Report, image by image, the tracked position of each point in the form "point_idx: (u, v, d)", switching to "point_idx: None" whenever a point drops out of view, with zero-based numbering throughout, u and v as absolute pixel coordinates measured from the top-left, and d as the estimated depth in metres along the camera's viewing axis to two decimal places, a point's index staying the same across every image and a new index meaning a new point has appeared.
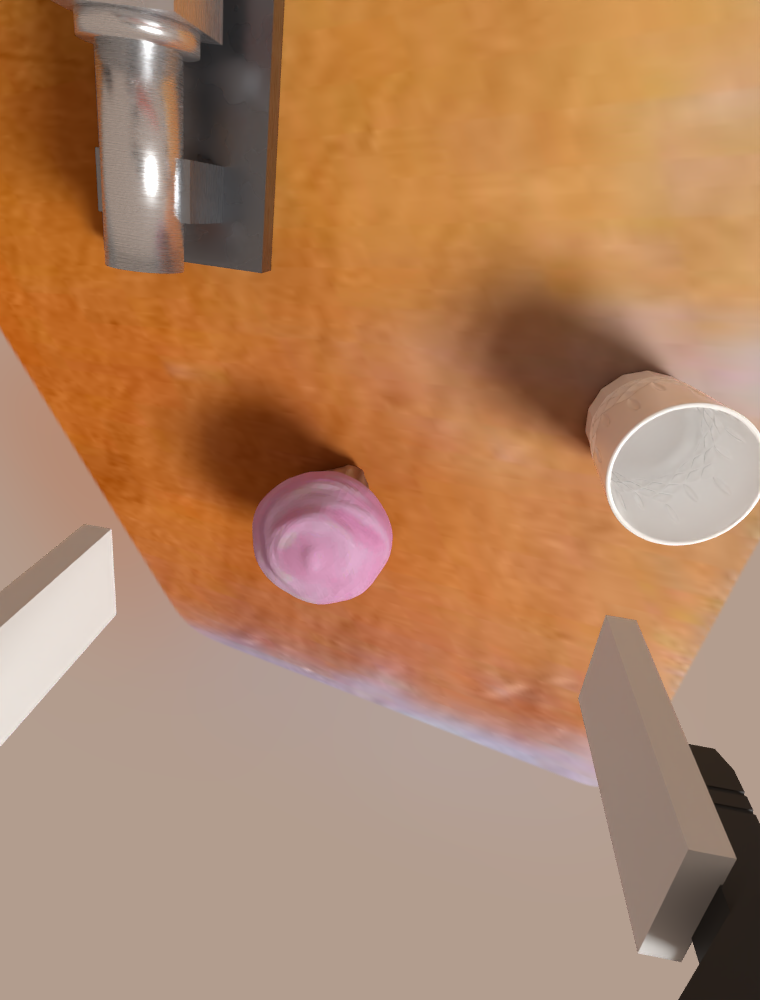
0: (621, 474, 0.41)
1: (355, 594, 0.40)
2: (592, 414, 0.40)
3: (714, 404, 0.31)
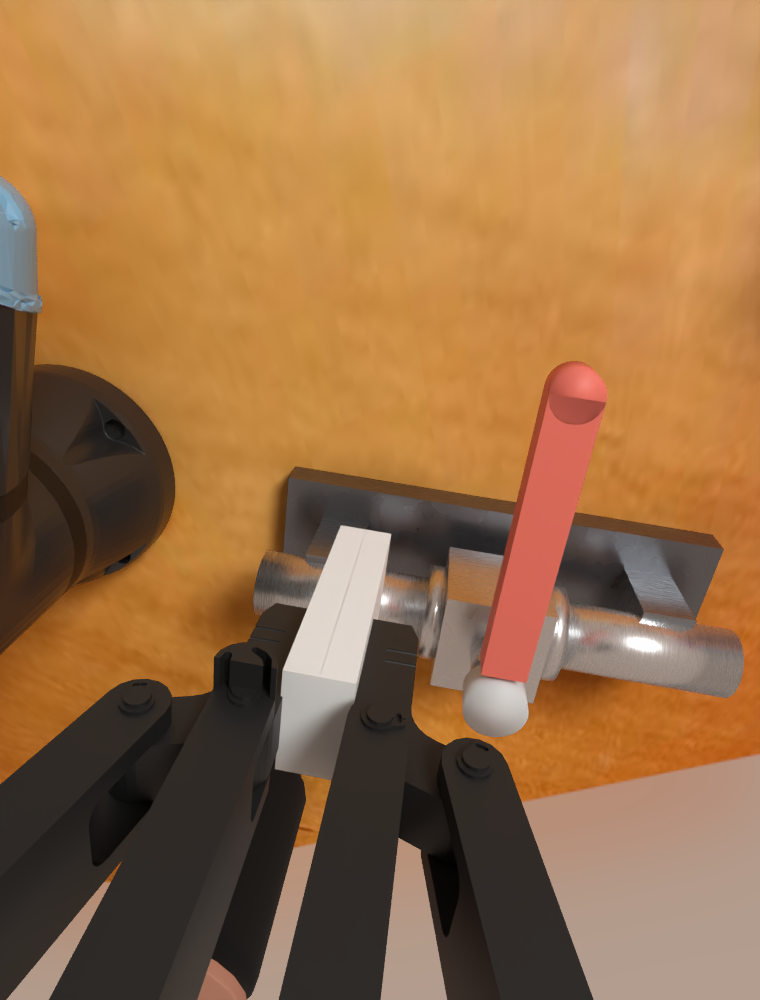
0: None
1: None
2: None
3: None
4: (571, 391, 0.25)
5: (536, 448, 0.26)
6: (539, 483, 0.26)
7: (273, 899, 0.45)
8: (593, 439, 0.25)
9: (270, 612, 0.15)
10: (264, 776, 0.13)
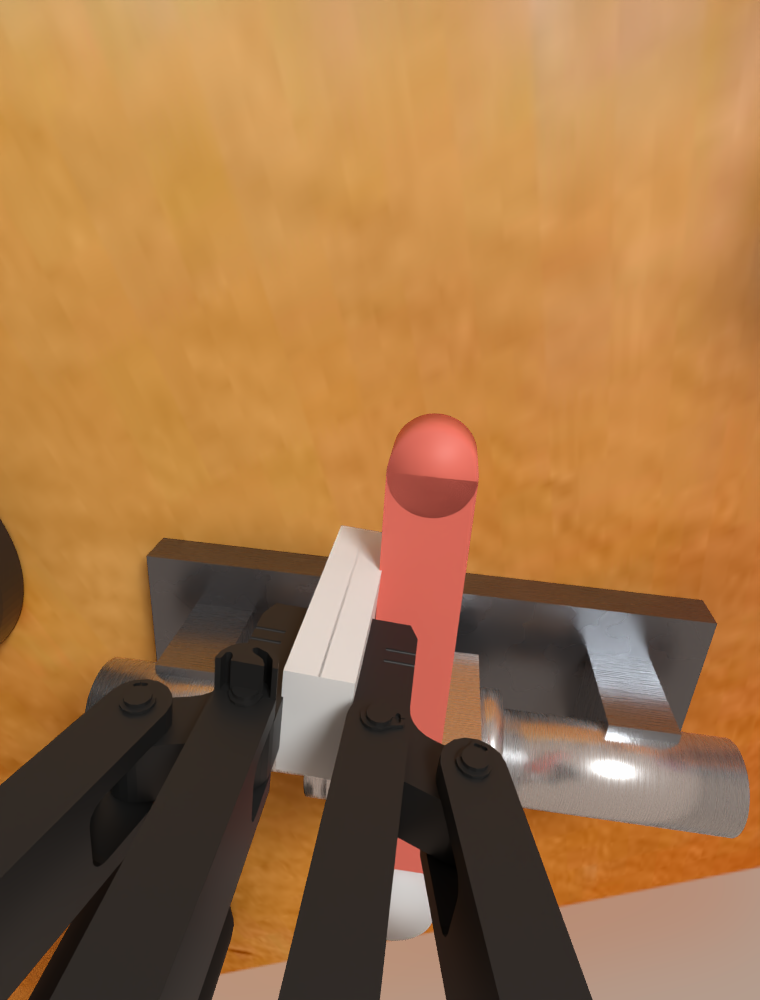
0: None
1: None
2: None
3: None
4: (420, 467, 0.15)
5: (381, 554, 0.16)
6: (394, 606, 0.17)
7: None
8: (467, 538, 0.16)
9: (270, 612, 0.15)
10: (265, 776, 0.13)
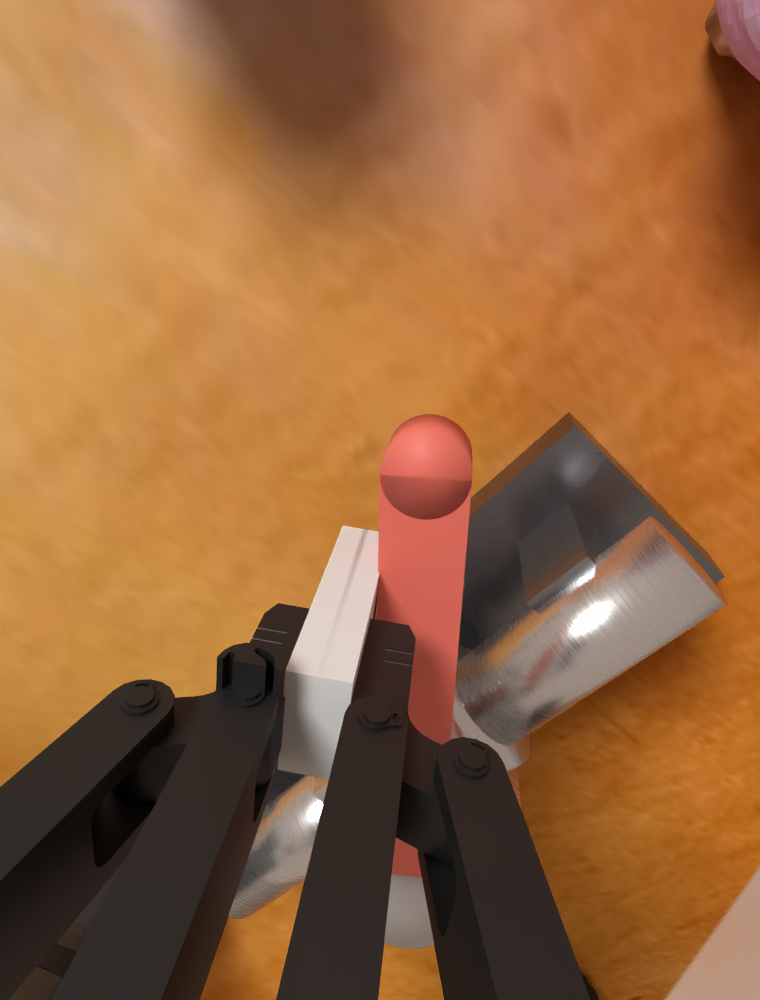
0: None
1: None
2: None
3: None
4: (413, 468, 0.15)
5: (379, 558, 0.16)
6: (395, 609, 0.17)
7: None
8: (464, 538, 0.16)
9: (272, 613, 0.15)
10: (267, 777, 0.13)
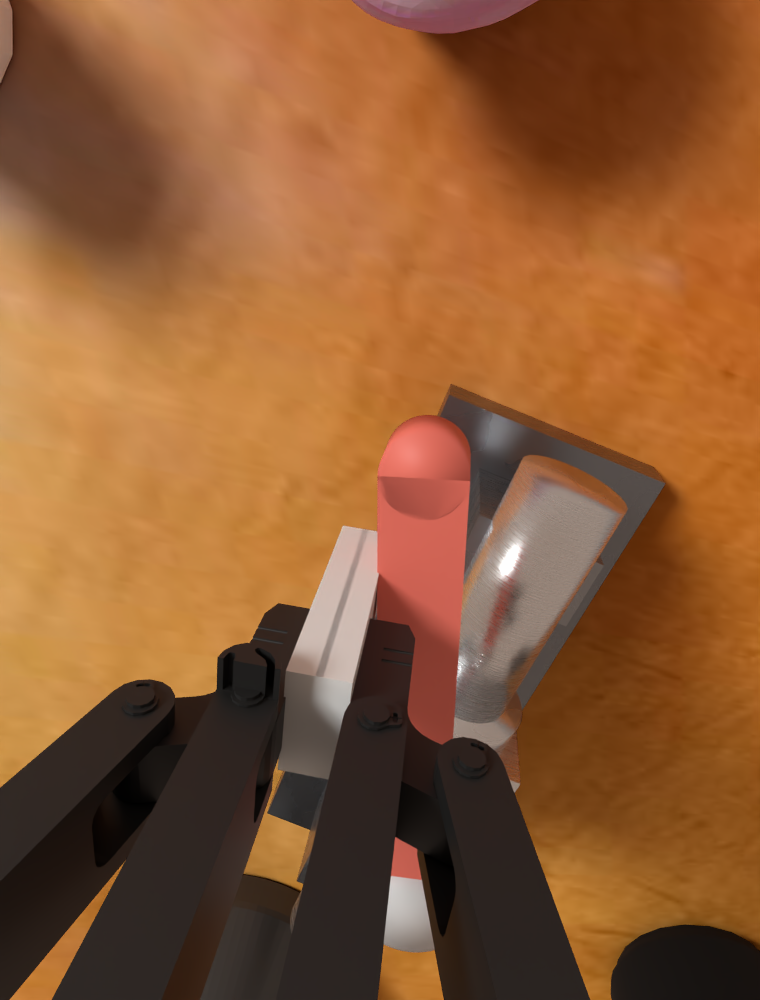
0: None
1: None
2: None
3: None
4: (411, 469, 0.15)
5: (378, 559, 0.16)
6: (395, 610, 0.17)
7: None
8: (463, 539, 0.16)
9: (272, 612, 0.15)
10: (268, 777, 0.13)
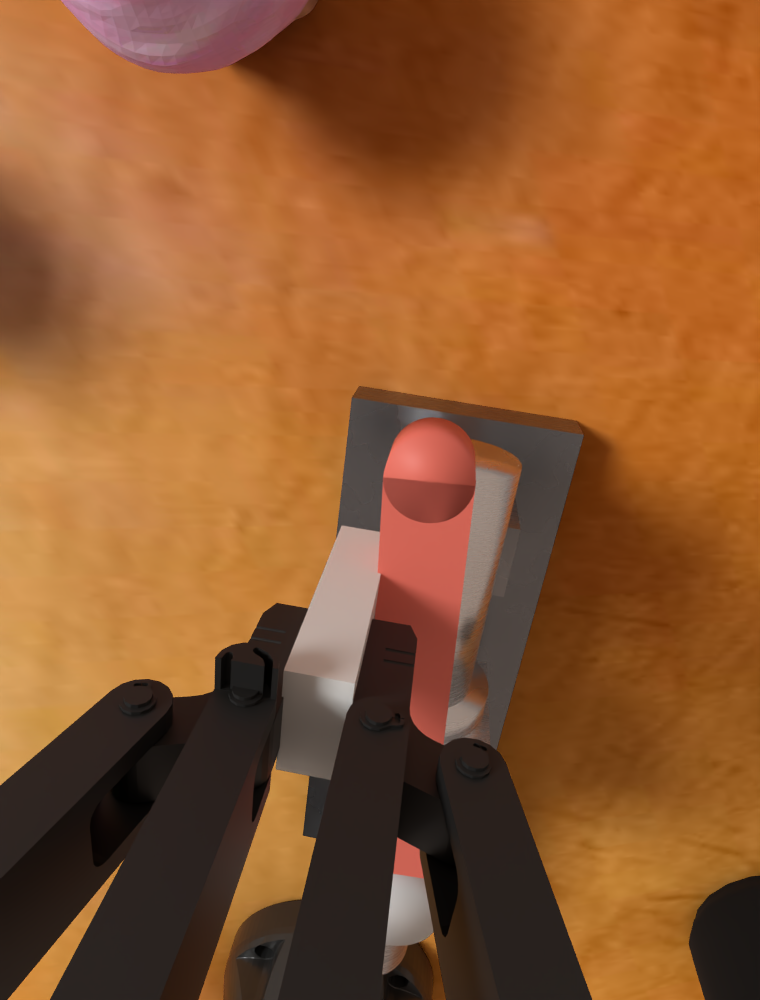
0: None
1: None
2: None
3: None
4: (417, 471, 0.15)
5: (379, 560, 0.16)
6: (393, 611, 0.17)
7: None
8: (465, 543, 0.16)
9: (271, 612, 0.15)
10: (265, 776, 0.13)
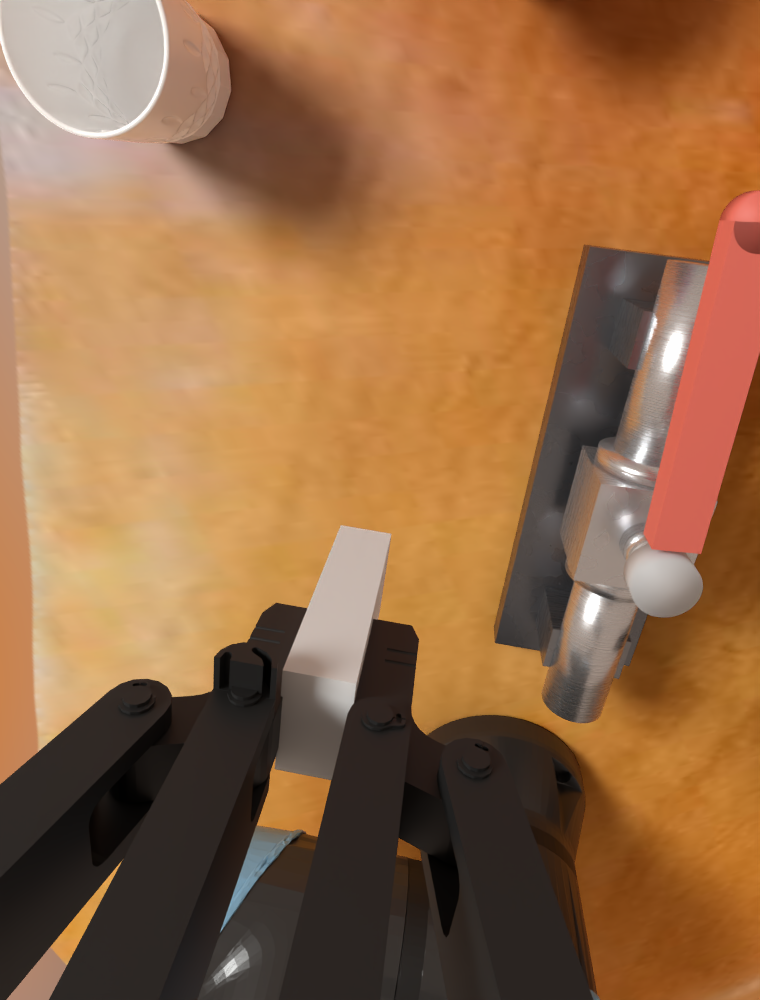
0: None
1: None
2: (222, 87, 0.35)
3: (87, 137, 0.30)
4: (759, 215, 0.24)
5: (718, 285, 0.25)
6: (721, 325, 0.25)
7: None
8: None
9: (270, 612, 0.15)
10: (265, 776, 0.13)
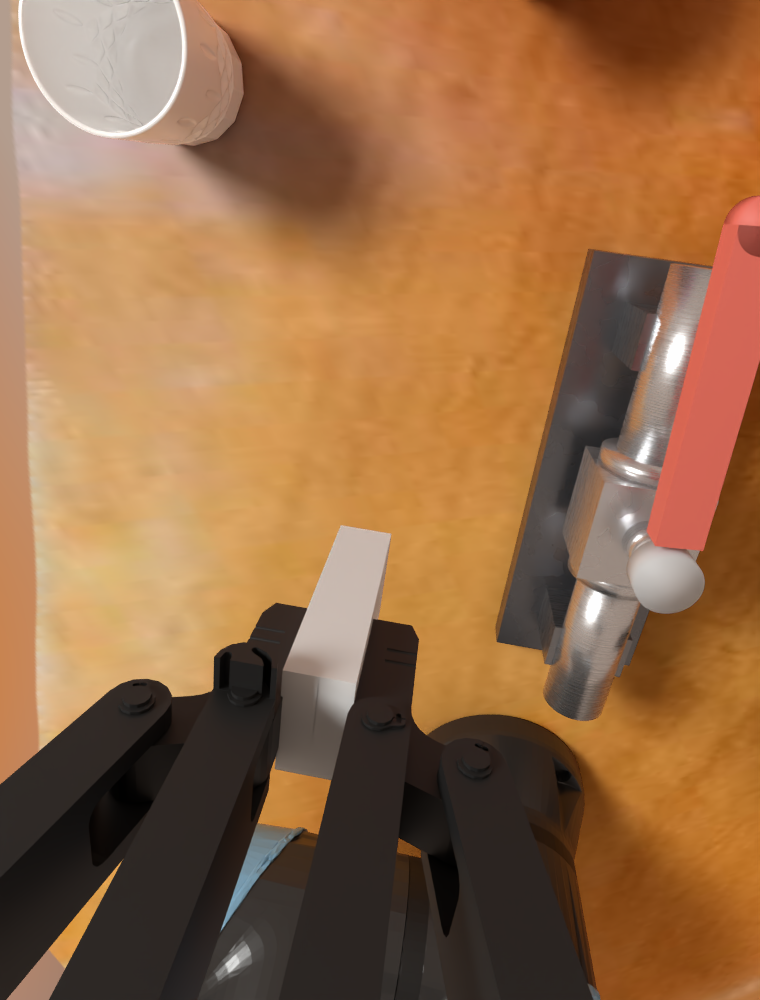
0: None
1: None
2: (235, 91, 0.36)
3: (104, 136, 0.30)
4: None
5: (722, 287, 0.25)
6: (724, 326, 0.26)
7: None
8: None
9: (270, 612, 0.15)
10: (264, 776, 0.13)
